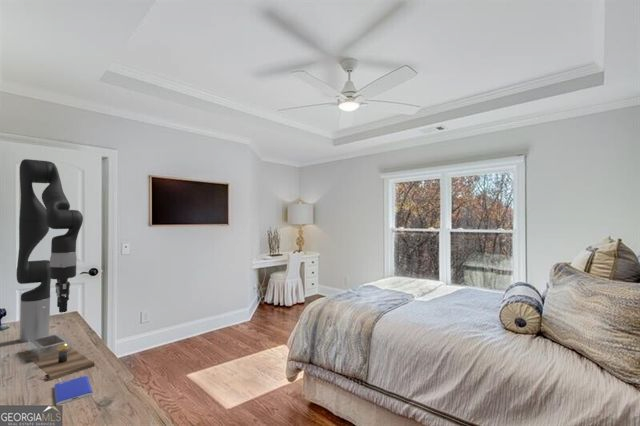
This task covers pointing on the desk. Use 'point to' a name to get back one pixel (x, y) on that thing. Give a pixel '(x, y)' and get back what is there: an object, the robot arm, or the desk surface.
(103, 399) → the desk surface
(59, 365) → the brown wooden board
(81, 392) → the hard drive
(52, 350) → the grey rectangular frame
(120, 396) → the desk surface
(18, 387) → the desk surface
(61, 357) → the post
